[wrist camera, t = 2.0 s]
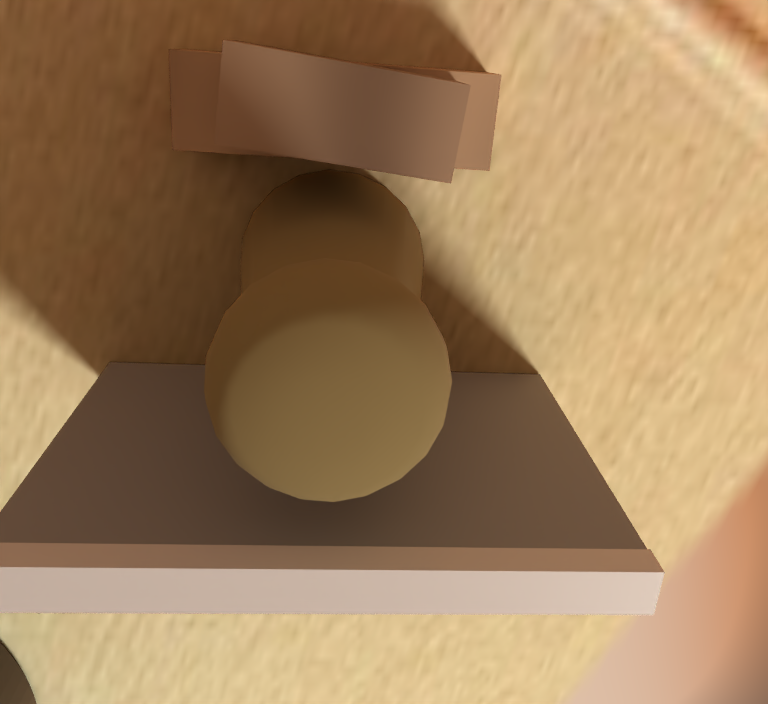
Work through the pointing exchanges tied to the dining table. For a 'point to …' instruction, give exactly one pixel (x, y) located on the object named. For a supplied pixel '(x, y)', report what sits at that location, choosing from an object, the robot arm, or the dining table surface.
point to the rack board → (318, 517)
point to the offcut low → (197, 133)
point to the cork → (328, 343)
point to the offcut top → (339, 111)
